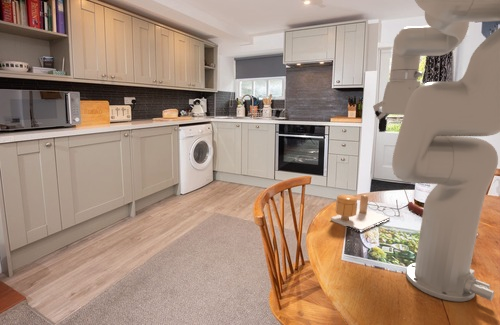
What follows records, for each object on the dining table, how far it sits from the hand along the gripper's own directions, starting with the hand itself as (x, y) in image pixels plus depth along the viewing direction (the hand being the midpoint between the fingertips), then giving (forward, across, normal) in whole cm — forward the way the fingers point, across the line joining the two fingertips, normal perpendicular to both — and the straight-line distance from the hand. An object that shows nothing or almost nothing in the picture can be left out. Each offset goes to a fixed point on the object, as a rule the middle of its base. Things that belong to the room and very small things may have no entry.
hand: (396, 133), depth 93 cm
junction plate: (+28, +4, +10) cm, 30 cm away
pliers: (+29, -7, -12) cm, 32 cm away
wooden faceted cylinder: (+25, +6, +15) cm, 30 cm away
